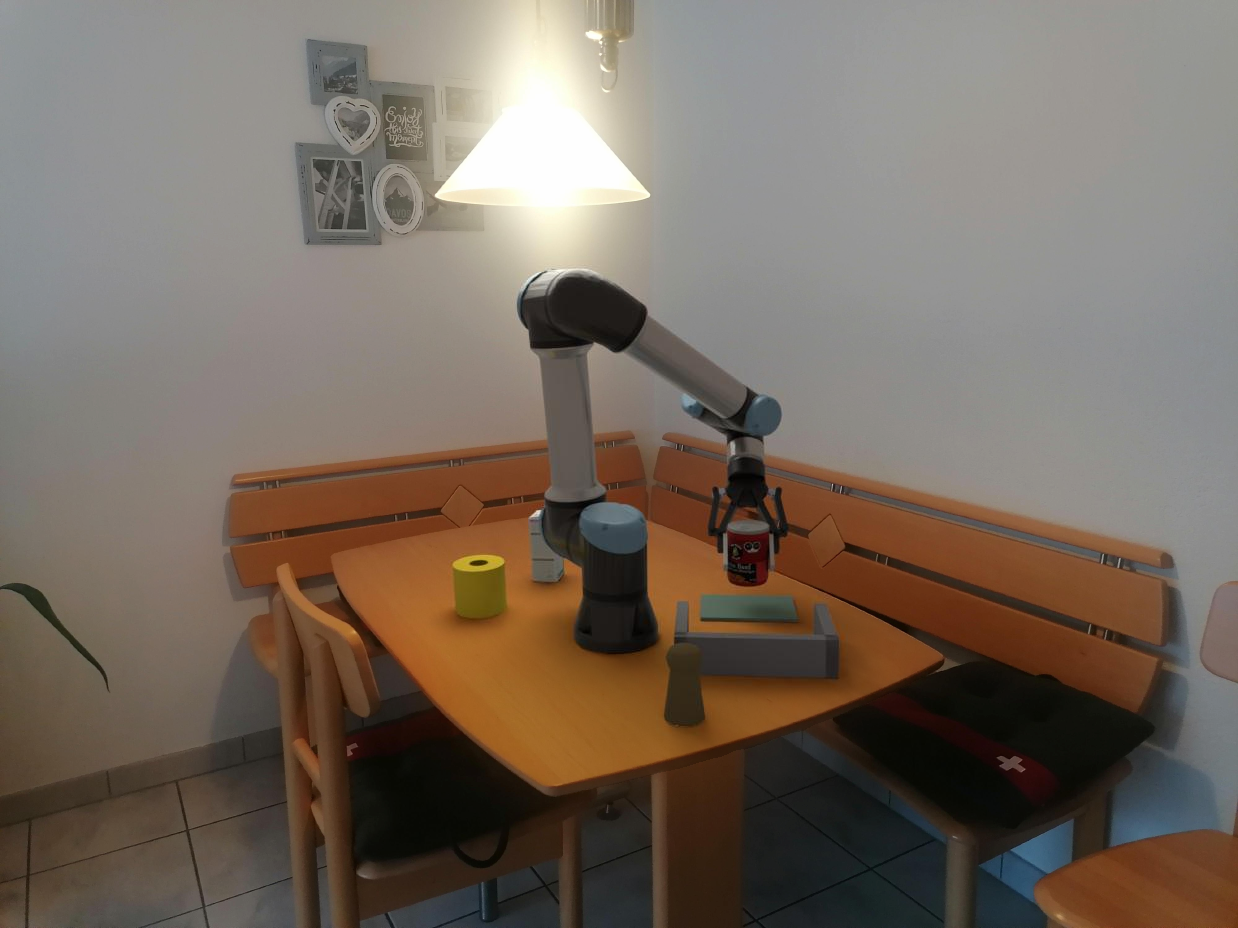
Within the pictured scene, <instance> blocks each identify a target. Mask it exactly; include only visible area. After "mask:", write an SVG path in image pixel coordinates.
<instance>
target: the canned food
mask: <svg viewBox="0 0 1238 928" xmlns="http://www.w3.org/2000/svg"><path fill="white" fill-rule="evenodd" d="M726 534H727V550H728V569H727V571H726V576H727V580H728V582H729V583H730V584H732V585H734V586H737V587H743V588H745V587H746V588H751V587H752V588H753V587H760V586H763V585H765V584H766V583H767V582H768V579H769V572H770V570H769V534H770V533H769V525H768V524H767V523H765V522H763V520H755V519H739V520H735V521H731V523H729V524H728V528H727V531H726Z"/></svg>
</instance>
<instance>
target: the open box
mask: <svg viewBox="0 0 1238 928" xmlns="http://www.w3.org/2000/svg"><path fill="white" fill-rule="evenodd" d="M813 607H814V608H813V612H814V614H813V634H807V633H805V634H798V633H797V634H796V633H795V634H794V633H758V632H757V633H754V632H753V633H750V632H749V633H748V632H710V631H708V632H705V631H704V632H703V631H701V632H700V631H699V632H697V631H690V629H689V628H690V626H689V625H690V624H689V623H690V622H689V621H690V620H689V619H690V617H689V613H690V612H689V611H690V610H689V609H690V608H689V600H688V601H687V600H682V601H681V600H677V603H676V609H675V610H676V612H675V620H674V621H675V624H674V632H673V633H674V634H673V645H675V644H678V643H690V644H693V645H695V646H697V647H698V648H699V649H700V651H701V653H702V663H701V666H700V667H699V669H698V670H699V676H727V677H729V676H730V677H766V678H767V677H769V678H807V679H809V678H810V679H839V666H840V663H839V661H840V638H839V635H838V632H837V630H836V628H835V625H834V622H833V619H832V615H831V613H830V610H829V608H828V606H827V603H814V606H813Z"/></svg>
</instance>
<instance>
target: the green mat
mask: <svg viewBox="0 0 1238 928" xmlns="http://www.w3.org/2000/svg"><path fill="white" fill-rule="evenodd" d="M699 612H700V613H699V614H700V615H699V619H700V621H712V622H713V621H714V622H715V621H716V622H717V621H718V622H719V621H721V622H757V623H759V622H760V623H761V622H763V623H764V622H765V623H766V622H771V623H772V622H773V623H799V617H798V614H797V610H796V606H795V603H794V599H793V596H792V595H778V594H777V595H773V594H771V595H770V594H769V595H768V594H767V595H765V594H763V595H762V594H714V593H713V594H710V593H707V594H706V593H705V594H704V593H703V594H702V593H701V594H700V611H699Z"/></svg>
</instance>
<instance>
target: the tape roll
mask: <svg viewBox="0 0 1238 928" xmlns="http://www.w3.org/2000/svg"><path fill="white" fill-rule="evenodd" d="M505 564H506V562H505V559H504V558H503V557H501V556H497V555H493V554H492V555H491V554H476V555H475V554H474V555H469V556H465V557H462V558H458V559H457V560H455V561H454V562H453V563H452V575H453V576H452V577H453V589H454V606H455V607H454V609H455V613H456V614H457V615H458V616H460V617H463V618H467V617H468V618H467V619H486V618H490V617H495V616H498V615H500V614H502V613H504V612H505V611H506V610H507V608H508V603H507V583H506V581H507V580H506V565H505ZM494 615H495V616H494Z"/></svg>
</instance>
